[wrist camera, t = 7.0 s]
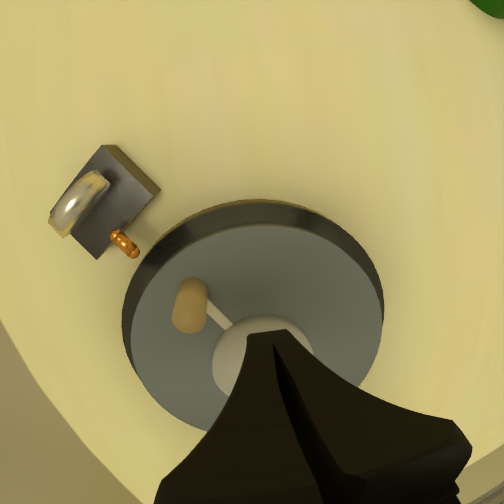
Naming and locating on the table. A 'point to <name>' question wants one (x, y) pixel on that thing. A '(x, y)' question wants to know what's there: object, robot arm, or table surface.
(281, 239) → the disc
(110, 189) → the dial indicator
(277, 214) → the plinth
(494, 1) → the motor
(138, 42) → the table surface
